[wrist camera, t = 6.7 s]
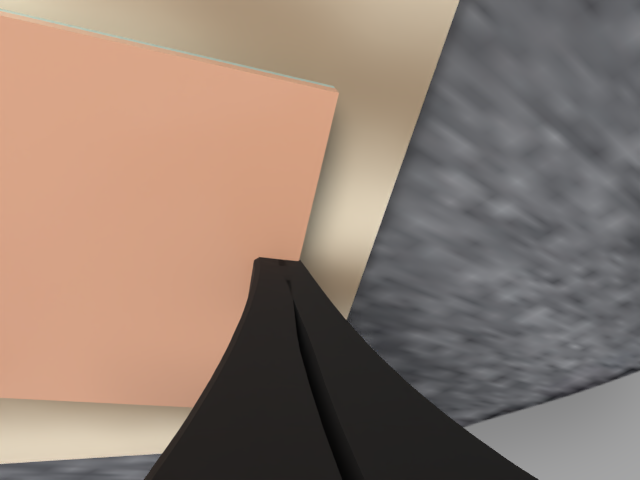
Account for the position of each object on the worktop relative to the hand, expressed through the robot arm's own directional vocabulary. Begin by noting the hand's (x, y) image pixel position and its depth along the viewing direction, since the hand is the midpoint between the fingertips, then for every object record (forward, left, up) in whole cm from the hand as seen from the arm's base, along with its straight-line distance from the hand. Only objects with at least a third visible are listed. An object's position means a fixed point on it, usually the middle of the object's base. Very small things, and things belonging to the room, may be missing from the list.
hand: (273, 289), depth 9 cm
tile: (0, +4, 0) cm, 4 cm away
